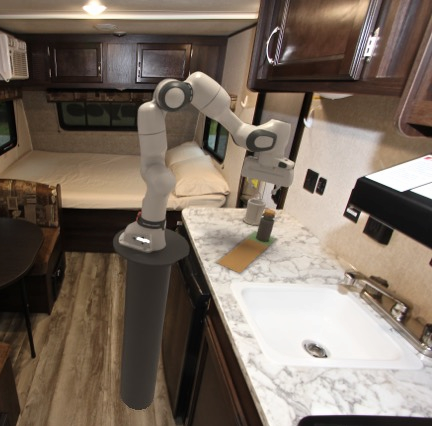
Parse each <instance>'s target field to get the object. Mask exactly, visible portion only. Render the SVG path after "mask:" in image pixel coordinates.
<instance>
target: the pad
mask: <svg viewBox="0 0 432 426" xmlns="http://www.w3.org/2000/svg"><path fill="white" fill-rule="evenodd" d="M256 235H257V231H254V232H253V233H252V234H251V235H249V236H248V237H247V238H248V239H251V240H254V241H256V242H259V243H262V244H264V245H267V246H268V247H269V246H270V245H271V244H273V243H274V242H275V241H276V240H277V238H275V237H272V236H270V238H269V241H268V242H262V241H259V240H257V239H256Z"/></svg>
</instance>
